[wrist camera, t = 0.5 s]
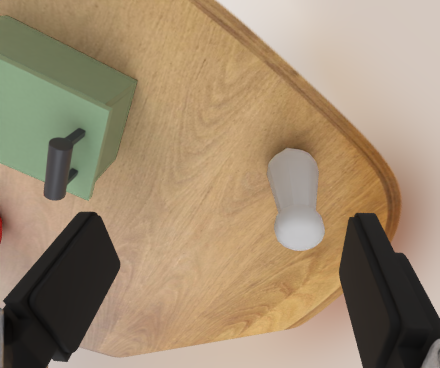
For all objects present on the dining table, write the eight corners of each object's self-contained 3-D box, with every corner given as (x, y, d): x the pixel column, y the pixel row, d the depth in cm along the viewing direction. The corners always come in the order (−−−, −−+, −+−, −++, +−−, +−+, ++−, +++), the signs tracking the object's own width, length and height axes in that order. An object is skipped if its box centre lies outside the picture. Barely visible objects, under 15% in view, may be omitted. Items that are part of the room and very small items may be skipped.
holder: (137, 80, 32) (105, 104, 25) (115, 159, 38) (85, 193, 32) (7, 15, 30) (-64, 22, 23) (7, 110, 36) (-48, 136, 30)
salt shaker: (303, 132, 33) (320, 202, 22) (323, 170, 35) (347, 249, 24) (258, 154, 35) (254, 227, 24) (279, 188, 37) (284, 267, 27)
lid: (113, 108, 26) (84, 131, 21) (91, 196, 32) (66, 227, 28) (-65, 22, 23) (-135, 30, 19) (-49, 136, 30) (-99, 159, 26)
